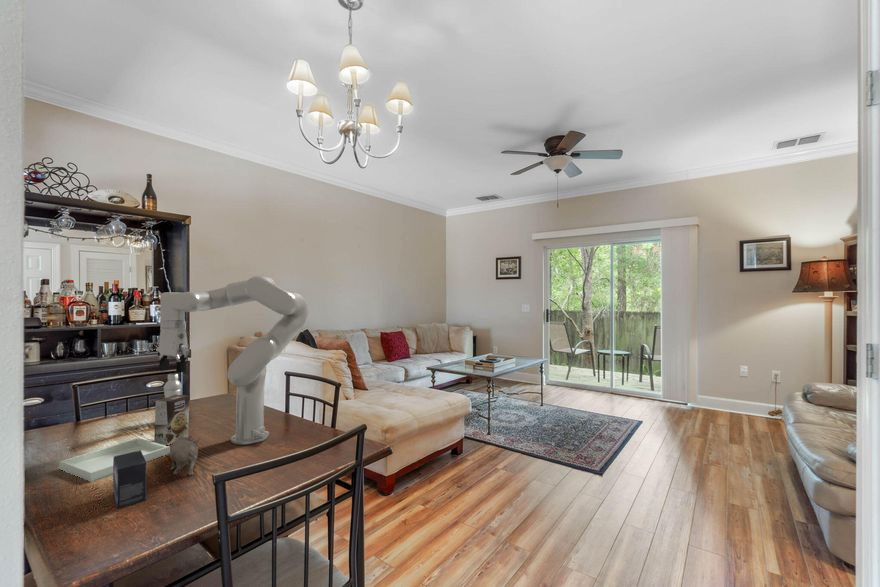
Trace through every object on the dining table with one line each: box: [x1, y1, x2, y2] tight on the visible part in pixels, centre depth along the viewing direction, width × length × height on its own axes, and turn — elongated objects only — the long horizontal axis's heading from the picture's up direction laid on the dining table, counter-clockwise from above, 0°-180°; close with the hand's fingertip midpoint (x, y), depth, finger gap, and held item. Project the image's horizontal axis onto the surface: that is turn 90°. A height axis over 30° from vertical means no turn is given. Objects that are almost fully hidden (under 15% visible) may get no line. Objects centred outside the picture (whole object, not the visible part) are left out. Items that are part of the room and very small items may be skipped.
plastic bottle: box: [163, 373, 183, 398], centre depth 168 cm, size 6×7×20 cm
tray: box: [58, 437, 171, 483], centre depth 127 cm, size 18×22×3 cm
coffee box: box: [153, 394, 190, 446], centre depth 146 cm, size 9×6×16 cm
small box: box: [112, 450, 147, 509], centre depth 106 cm, size 11×6×10 cm, turn 45°
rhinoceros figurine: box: [169, 434, 200, 477], centre depth 123 cm, size 8×14×15 cm
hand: (172, 370), depth 146 cm, fingers open, 9 cm apart
